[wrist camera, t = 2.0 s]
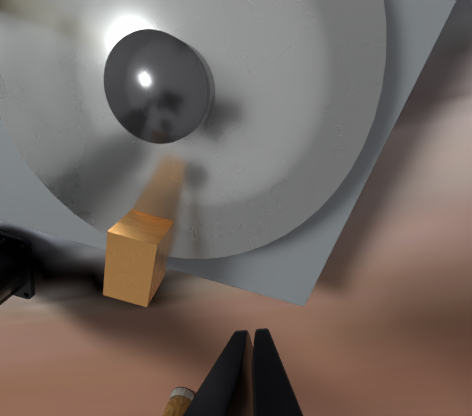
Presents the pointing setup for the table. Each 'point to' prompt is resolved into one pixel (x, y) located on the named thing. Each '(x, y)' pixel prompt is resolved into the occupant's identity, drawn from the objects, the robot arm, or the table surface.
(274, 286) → the jig block
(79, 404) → the table surface
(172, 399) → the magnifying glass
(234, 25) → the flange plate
